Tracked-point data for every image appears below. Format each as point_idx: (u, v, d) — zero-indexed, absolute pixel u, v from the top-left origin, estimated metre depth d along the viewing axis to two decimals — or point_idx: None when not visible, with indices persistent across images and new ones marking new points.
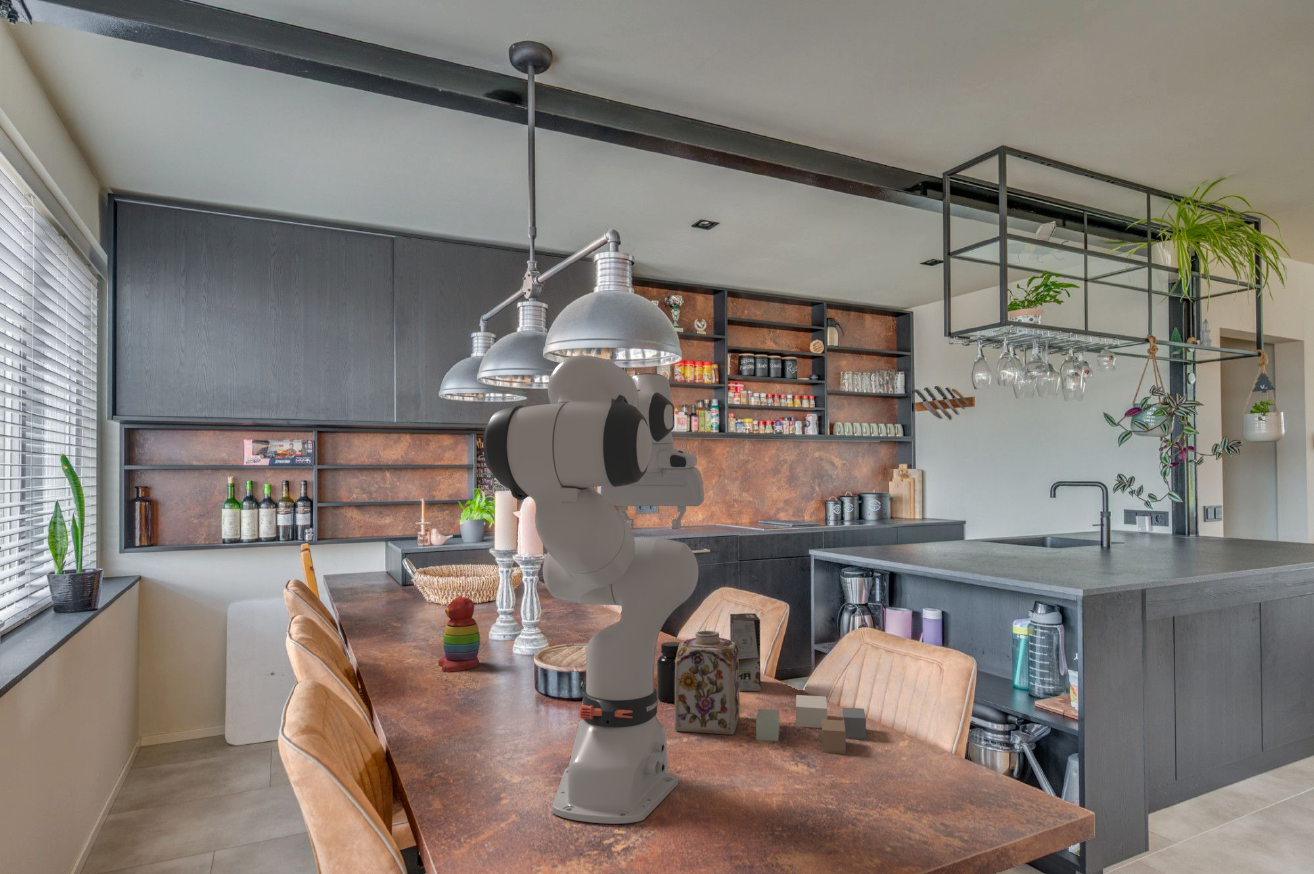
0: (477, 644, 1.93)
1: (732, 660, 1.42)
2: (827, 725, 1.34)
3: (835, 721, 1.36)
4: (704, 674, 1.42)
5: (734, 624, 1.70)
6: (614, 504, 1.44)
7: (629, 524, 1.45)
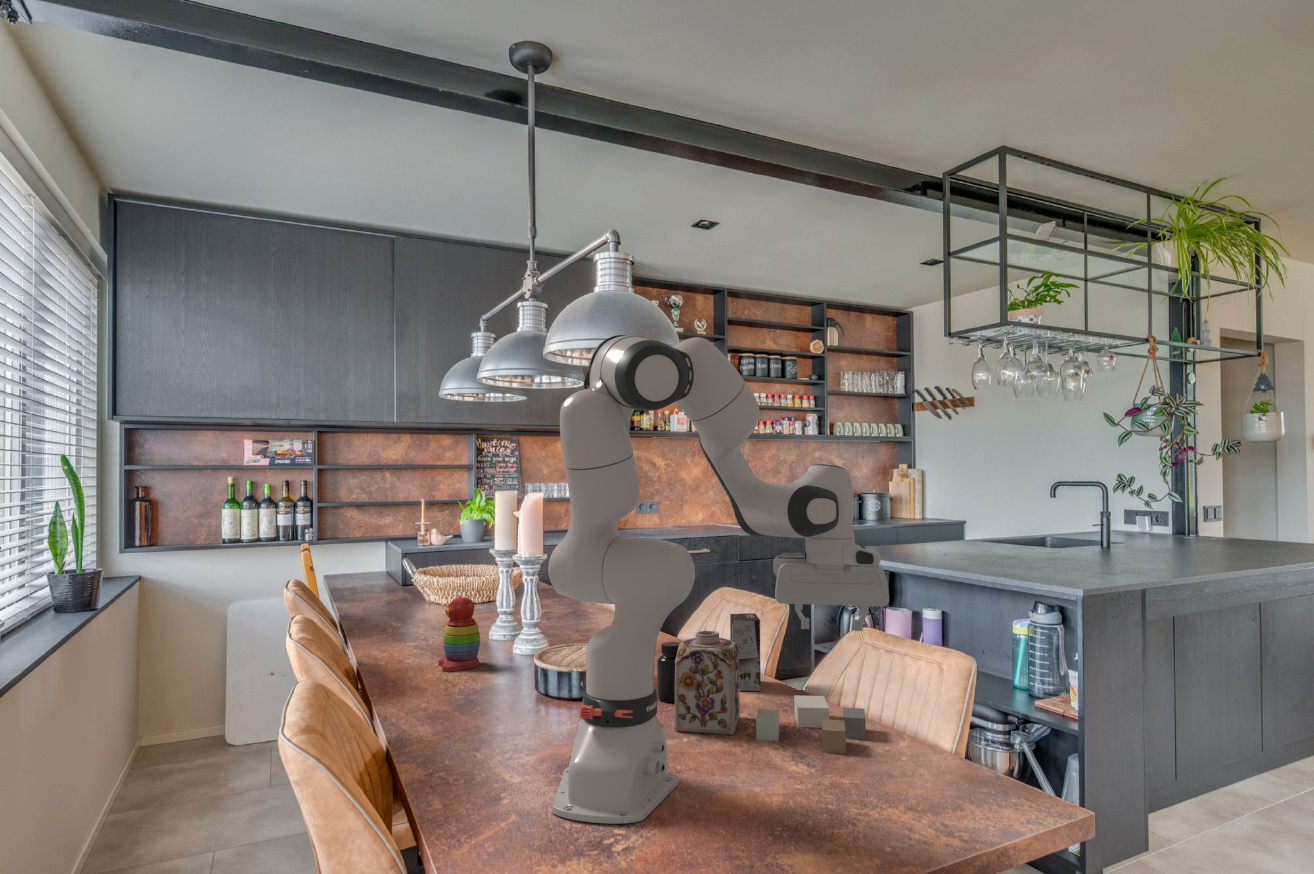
0: (477, 644, 1.93)
1: (732, 660, 1.42)
2: (827, 725, 1.34)
3: (835, 721, 1.36)
4: (704, 674, 1.42)
5: (734, 624, 1.70)
6: (791, 603, 1.35)
7: (806, 624, 1.35)
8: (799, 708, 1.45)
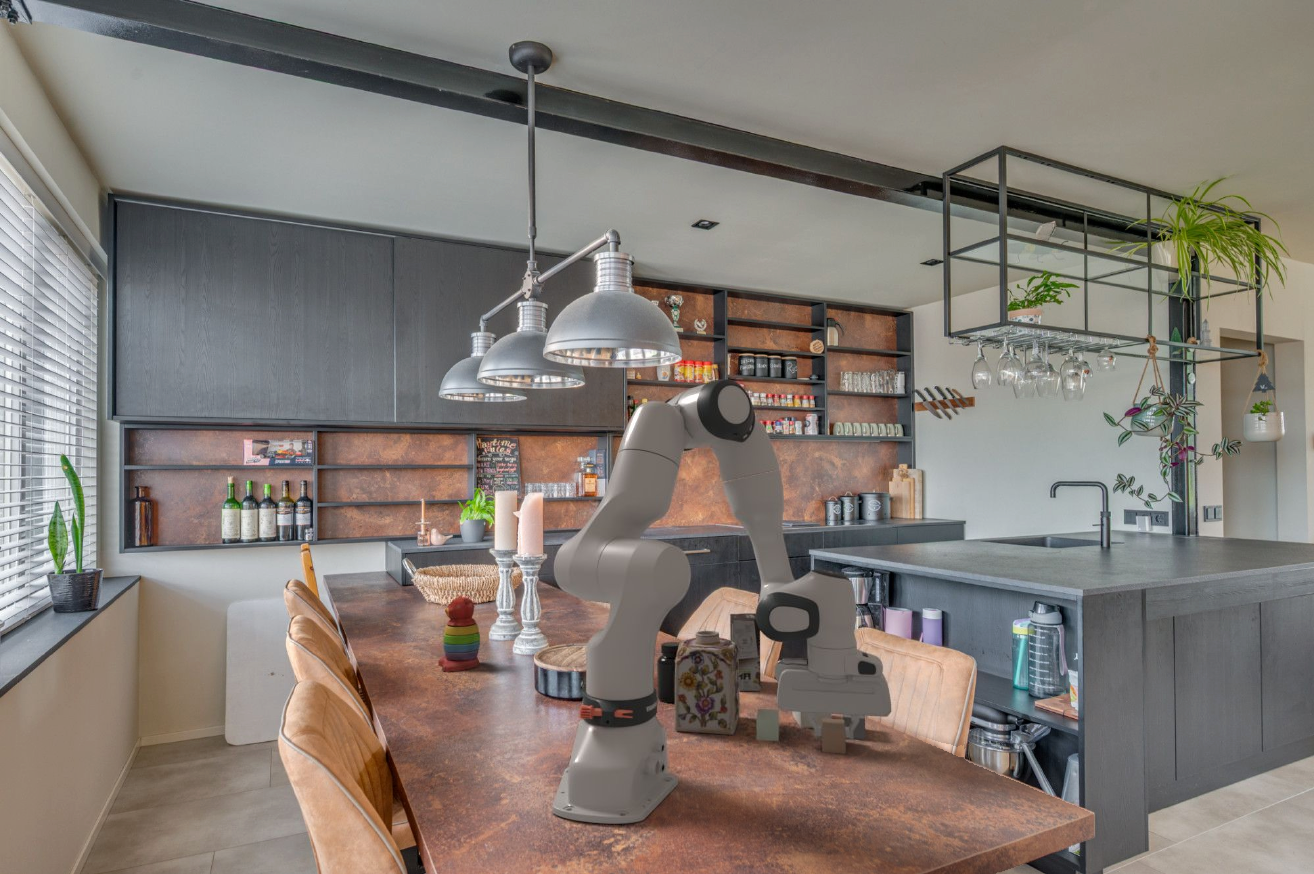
0: (477, 644, 1.93)
1: (732, 660, 1.42)
2: (827, 724, 1.34)
3: (835, 720, 1.36)
4: (704, 674, 1.42)
5: (734, 624, 1.70)
6: (793, 710, 1.34)
7: (819, 732, 1.34)
8: None
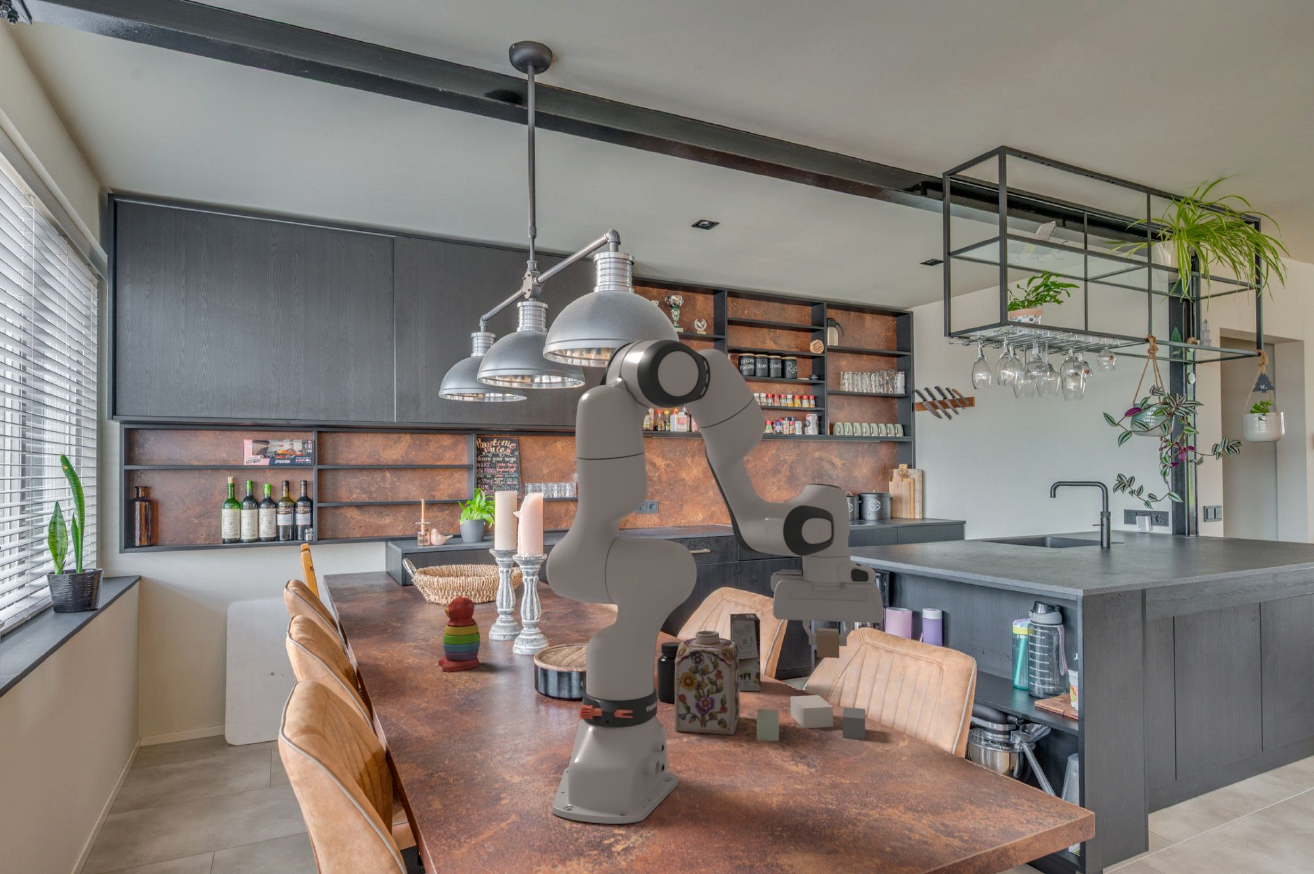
0: (477, 644, 1.93)
1: (732, 660, 1.42)
2: (822, 632, 1.38)
3: (829, 629, 1.41)
4: (704, 674, 1.42)
5: (734, 624, 1.70)
6: (788, 619, 1.39)
7: (814, 640, 1.38)
8: (804, 709, 1.45)
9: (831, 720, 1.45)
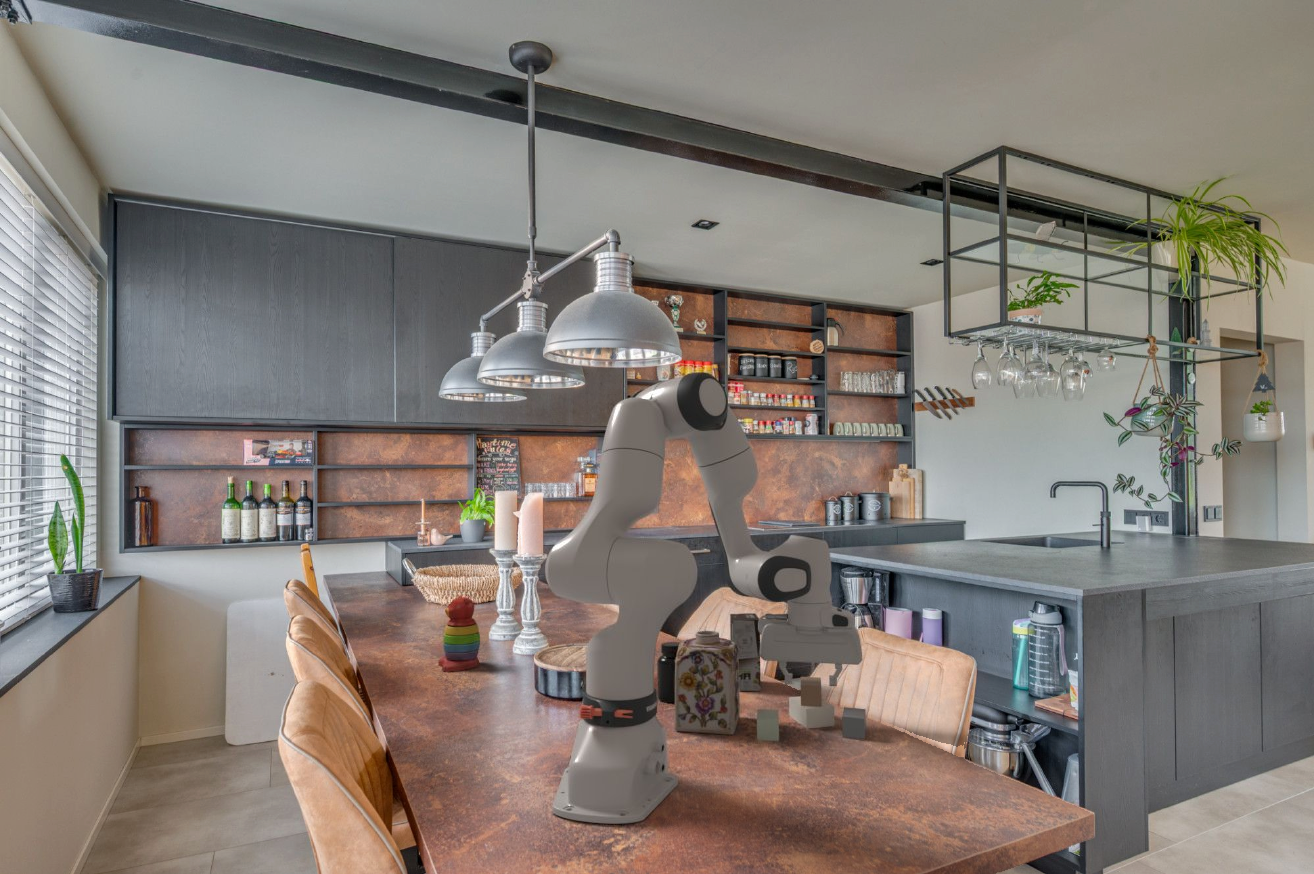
0: (477, 644, 1.93)
1: (732, 660, 1.42)
2: (805, 681, 1.49)
3: (812, 678, 1.51)
4: (704, 674, 1.42)
5: (734, 624, 1.70)
6: (774, 660, 1.49)
7: (790, 679, 1.49)
8: (807, 709, 1.44)
9: (832, 719, 1.46)
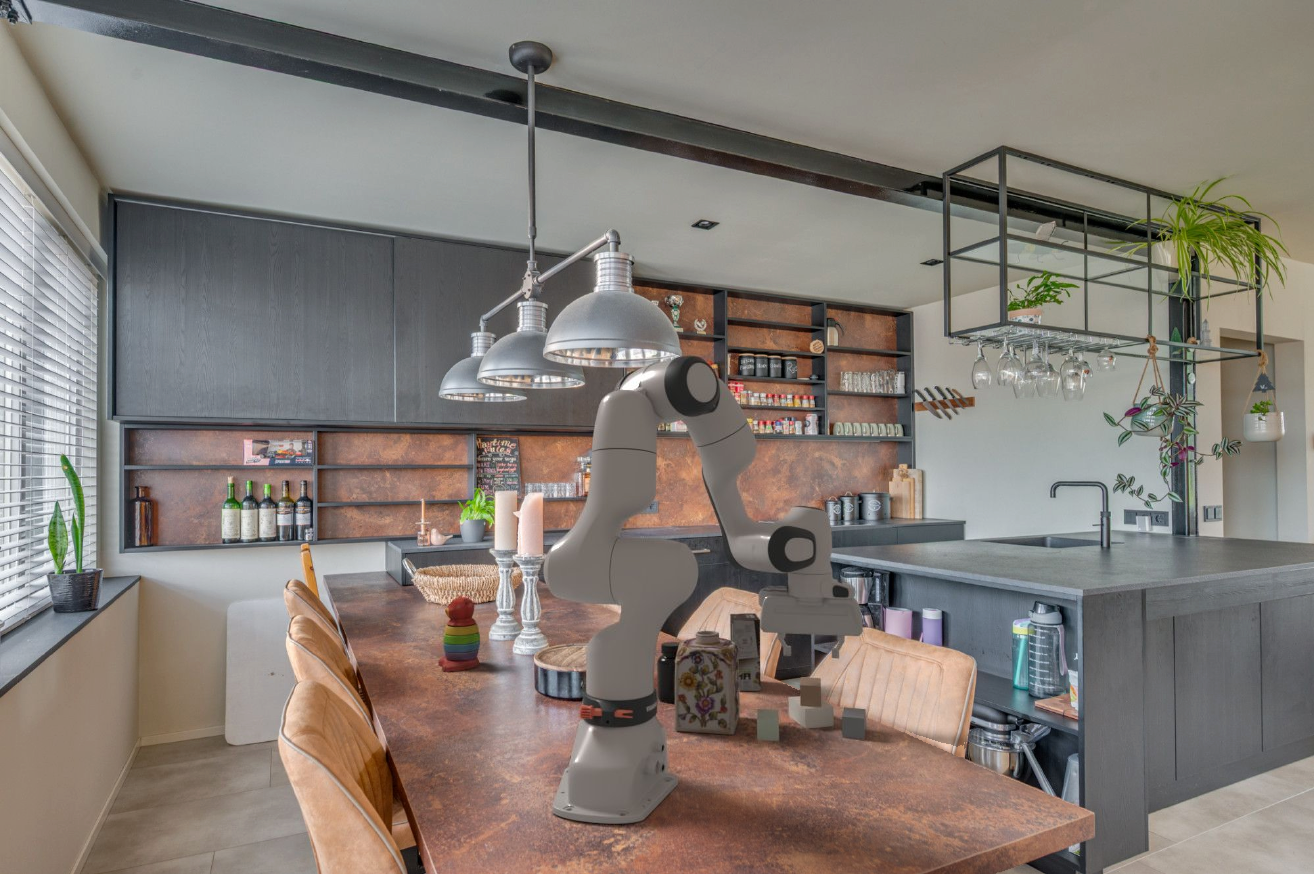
0: (477, 644, 1.93)
1: (732, 660, 1.42)
2: (805, 681, 1.49)
3: (812, 678, 1.51)
4: (704, 674, 1.42)
5: (734, 624, 1.70)
6: (775, 632, 1.49)
7: (788, 651, 1.49)
8: (806, 709, 1.44)
9: (832, 720, 1.46)
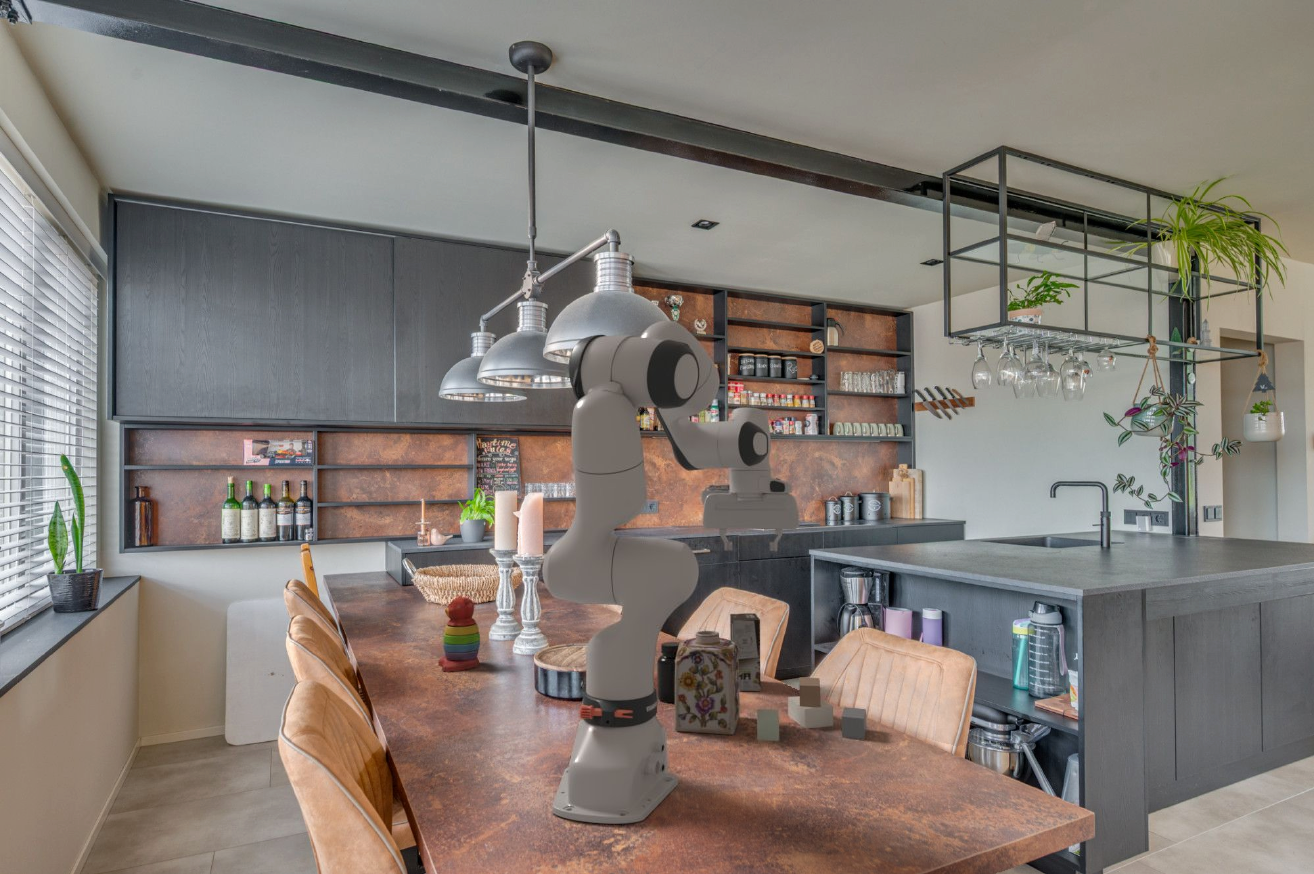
0: (477, 644, 1.93)
1: (732, 660, 1.42)
2: (804, 681, 1.49)
3: (811, 678, 1.51)
4: (704, 674, 1.42)
5: (734, 624, 1.70)
6: (716, 527, 1.56)
7: (729, 546, 1.56)
8: (806, 709, 1.44)
9: (831, 720, 1.46)
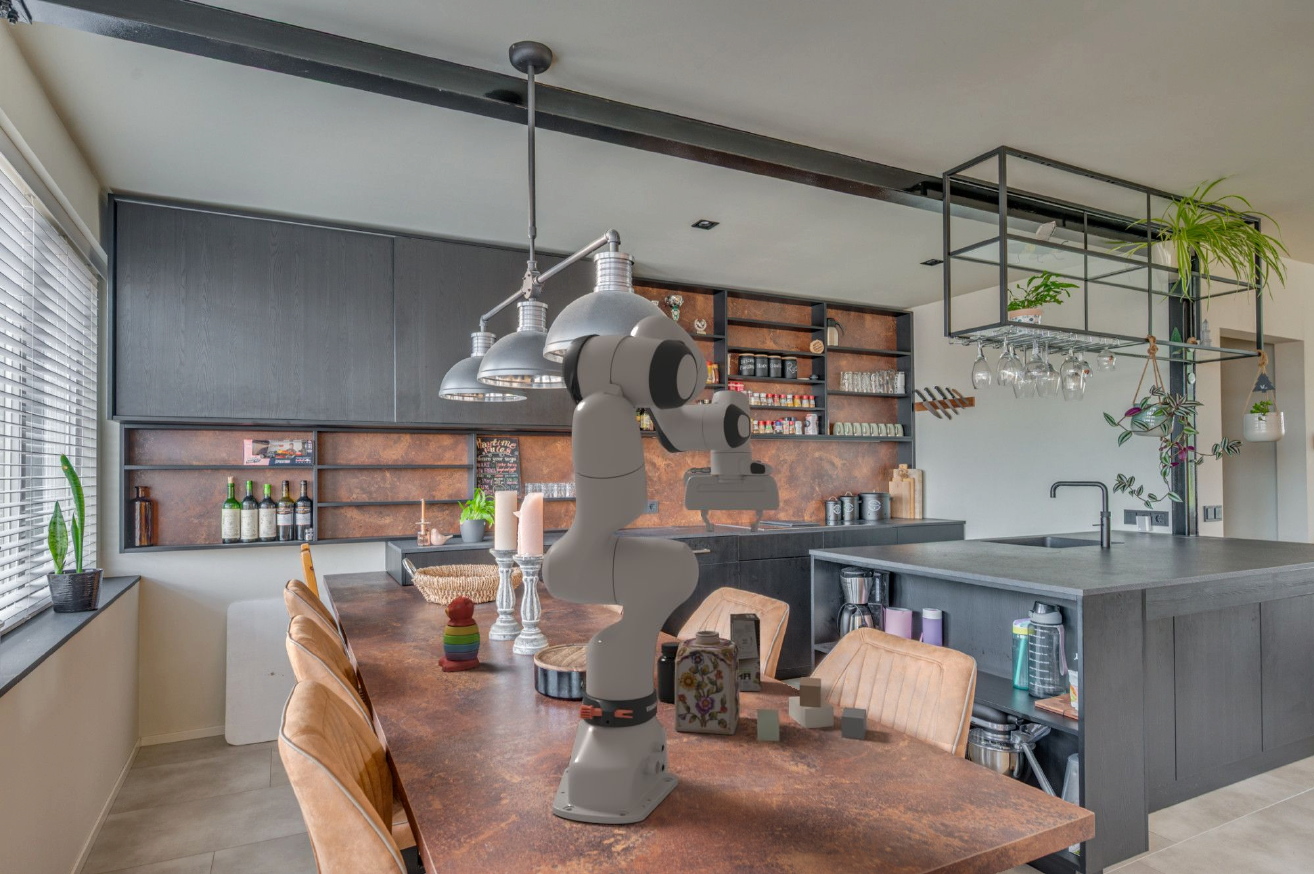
0: (477, 644, 1.93)
1: (732, 660, 1.42)
2: (805, 681, 1.49)
3: (813, 679, 1.51)
4: (704, 674, 1.42)
5: (734, 624, 1.70)
6: (697, 509, 1.58)
7: (710, 527, 1.58)
8: (806, 709, 1.44)
9: (832, 720, 1.46)
